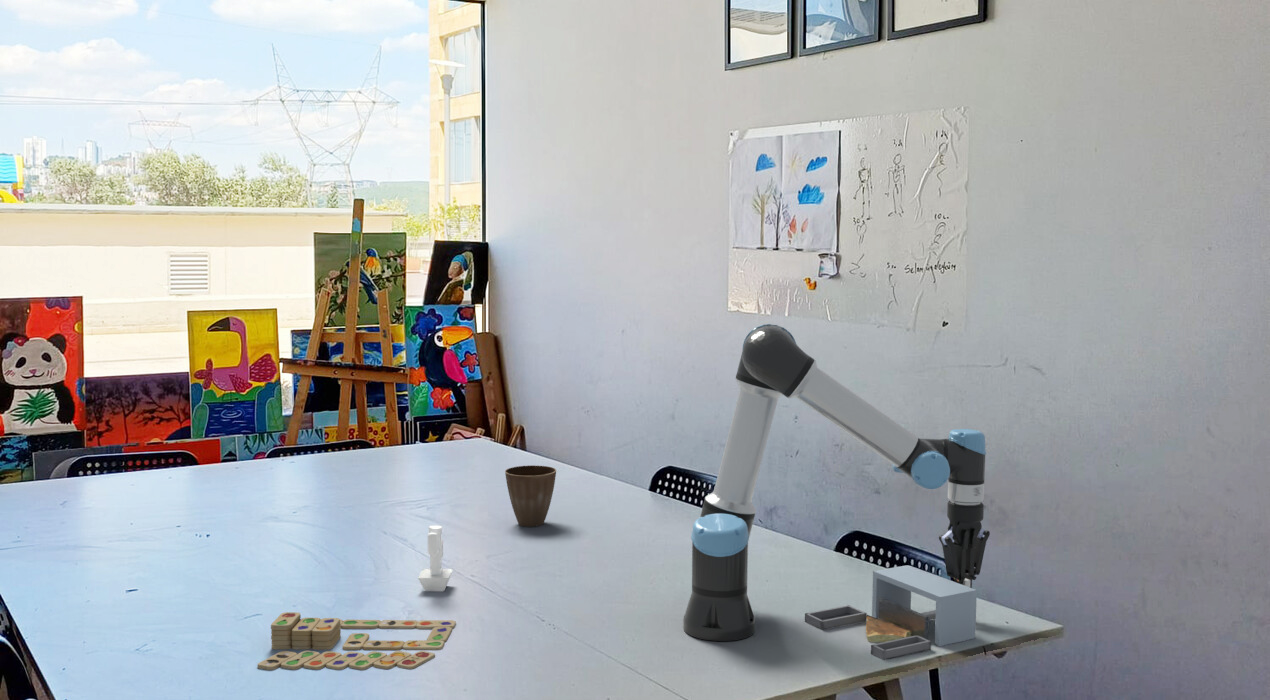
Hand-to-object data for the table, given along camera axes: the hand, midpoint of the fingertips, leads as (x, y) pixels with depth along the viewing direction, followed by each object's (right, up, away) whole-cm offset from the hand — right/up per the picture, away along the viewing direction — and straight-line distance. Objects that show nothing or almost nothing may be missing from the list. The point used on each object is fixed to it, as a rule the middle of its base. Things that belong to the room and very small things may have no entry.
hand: (962, 607), depth 236 cm
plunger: (-9, -3, -4) cm, 10 cm away
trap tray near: (-18, -4, -20) cm, 27 cm away
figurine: (-118, -1, +21) cm, 120 cm away
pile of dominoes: (-127, -4, -16) cm, 128 cm away
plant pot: (-102, +5, +83) cm, 131 cm away
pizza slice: (-21, -4, -10) cm, 23 cm away
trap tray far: (-28, -3, -2) cm, 28 cm away
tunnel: (-10, -3, -5) cm, 12 cm away
